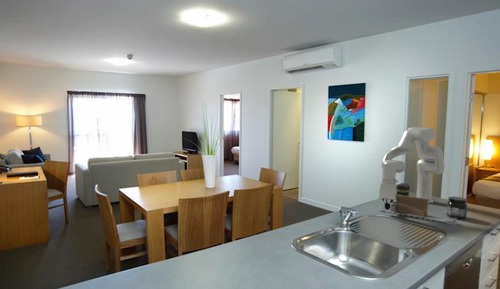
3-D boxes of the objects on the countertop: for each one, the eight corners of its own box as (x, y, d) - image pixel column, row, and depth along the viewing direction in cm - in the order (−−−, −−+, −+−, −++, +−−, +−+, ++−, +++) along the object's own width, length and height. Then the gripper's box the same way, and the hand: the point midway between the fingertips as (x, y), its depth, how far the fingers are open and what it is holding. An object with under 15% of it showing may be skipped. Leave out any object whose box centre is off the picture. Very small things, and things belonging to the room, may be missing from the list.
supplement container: (460, 214, 197) (461, 196, 196) (470, 220, 187) (471, 200, 186) (442, 214, 198) (444, 195, 197) (452, 219, 188) (453, 200, 187)
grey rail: (380, 209, 207) (380, 205, 206) (456, 223, 181) (456, 218, 180) (378, 210, 204) (379, 206, 204) (456, 224, 178) (456, 219, 178)
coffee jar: (404, 214, 198) (406, 185, 196) (392, 211, 203) (393, 183, 202) (410, 210, 204) (411, 183, 203) (397, 208, 210) (399, 181, 208)
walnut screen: (393, 210, 201) (393, 194, 200) (427, 216, 189) (428, 199, 188) (389, 214, 194) (390, 197, 193) (424, 220, 182) (425, 202, 181)
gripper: (402, 181, 192) (401, 210, 194) (378, 178, 202) (376, 205, 203) (400, 183, 187) (398, 213, 188) (374, 180, 196) (373, 208, 197)
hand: (387, 209), depth 196 cm, fingers closed
